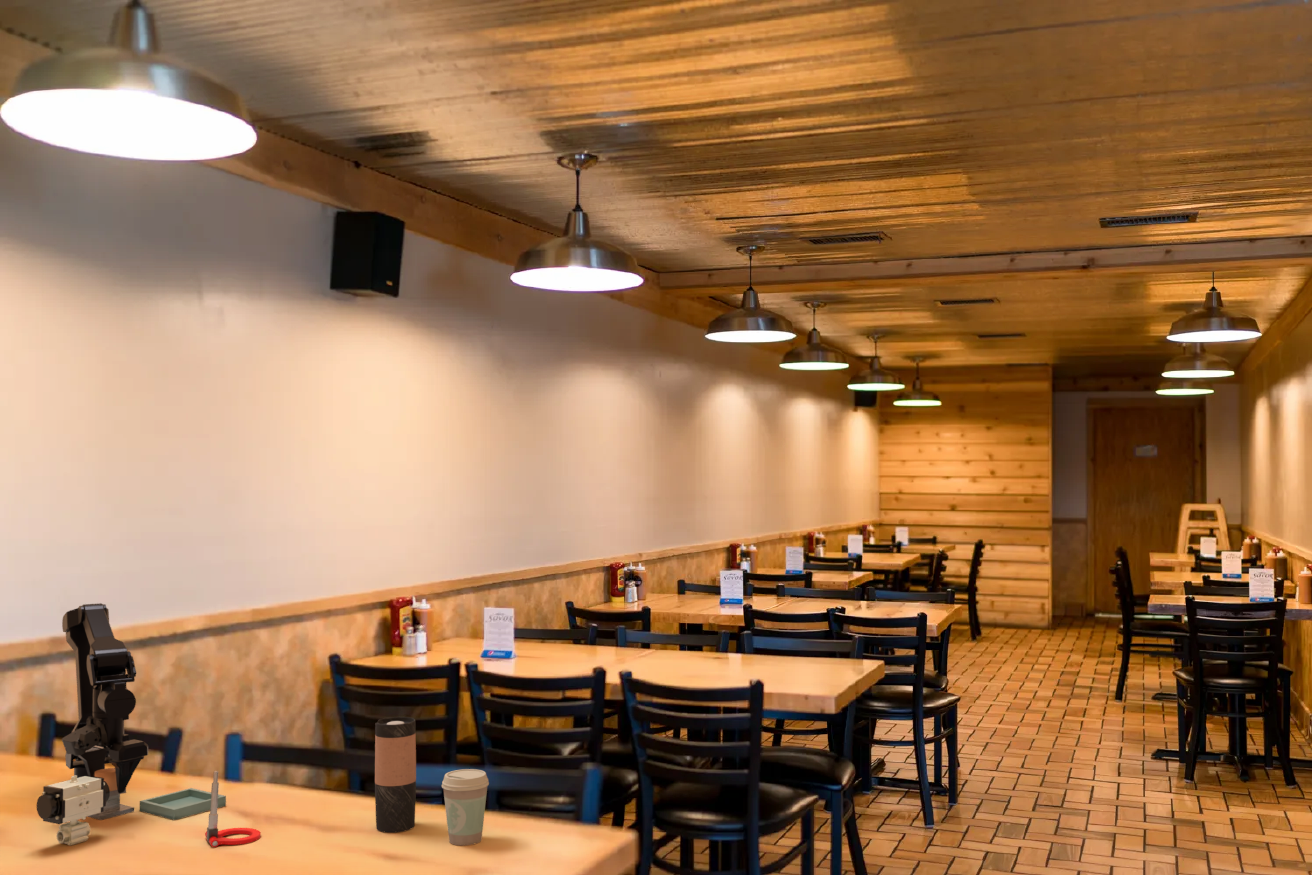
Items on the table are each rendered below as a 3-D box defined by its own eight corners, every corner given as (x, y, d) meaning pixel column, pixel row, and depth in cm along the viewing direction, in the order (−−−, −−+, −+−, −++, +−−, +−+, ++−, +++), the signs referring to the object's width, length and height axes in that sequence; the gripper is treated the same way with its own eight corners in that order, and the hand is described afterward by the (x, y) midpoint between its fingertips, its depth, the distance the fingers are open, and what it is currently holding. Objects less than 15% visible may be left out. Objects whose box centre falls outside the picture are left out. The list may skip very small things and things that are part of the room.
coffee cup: (436, 837, 211) (436, 771, 211) (482, 831, 214) (482, 766, 215) (447, 850, 203) (447, 782, 204) (494, 844, 206) (494, 776, 207)
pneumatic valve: (35, 849, 206) (35, 781, 206) (93, 831, 216) (94, 767, 216) (54, 853, 203) (55, 785, 204) (113, 835, 213) (113, 770, 214)
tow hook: (255, 831, 217) (203, 837, 212) (259, 762, 218) (207, 766, 213) (264, 843, 210) (211, 849, 205) (268, 772, 210) (215, 776, 206)
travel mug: (424, 826, 217) (424, 720, 218) (389, 835, 212) (389, 726, 213) (400, 818, 223) (400, 714, 223) (366, 827, 217) (366, 721, 218)
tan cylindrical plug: (89, 794, 228) (89, 771, 228) (112, 789, 232) (112, 766, 232) (103, 798, 225) (103, 775, 225) (126, 792, 229) (126, 769, 229)
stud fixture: (80, 814, 227) (81, 795, 228) (114, 806, 233) (114, 787, 233) (100, 820, 223) (100, 800, 224) (134, 811, 229) (134, 792, 229)
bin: (139, 811, 230) (139, 800, 230) (191, 797, 239) (191, 787, 239) (174, 819, 223) (174, 809, 223) (225, 805, 233) (225, 795, 233)
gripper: (43, 712, 228) (42, 791, 227) (96, 722, 217) (95, 805, 217) (97, 703, 237) (96, 779, 236) (150, 712, 227) (149, 792, 226)
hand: (107, 789), depth 229 cm, fingers open, 9 cm apart
